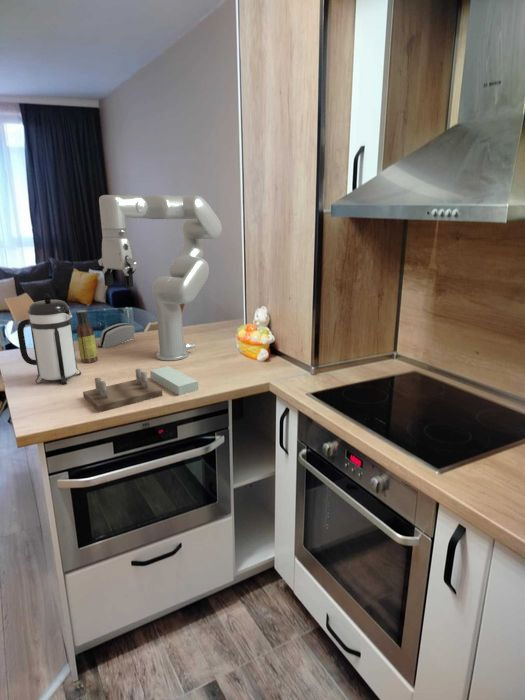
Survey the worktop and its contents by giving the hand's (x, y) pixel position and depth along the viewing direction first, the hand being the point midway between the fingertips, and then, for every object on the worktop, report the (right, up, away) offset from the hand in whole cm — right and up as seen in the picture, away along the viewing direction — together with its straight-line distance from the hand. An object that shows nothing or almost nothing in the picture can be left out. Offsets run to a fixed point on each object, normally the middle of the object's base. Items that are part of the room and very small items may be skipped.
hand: (119, 286), depth 158 cm
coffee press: (-23, -32, +4) cm, 40 cm away
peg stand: (+5, -36, -12) cm, 39 cm away
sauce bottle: (-19, -26, +23) cm, 39 cm away
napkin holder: (-15, -19, +46) cm, 52 cm away
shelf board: (+19, -33, -2) cm, 39 cm away
